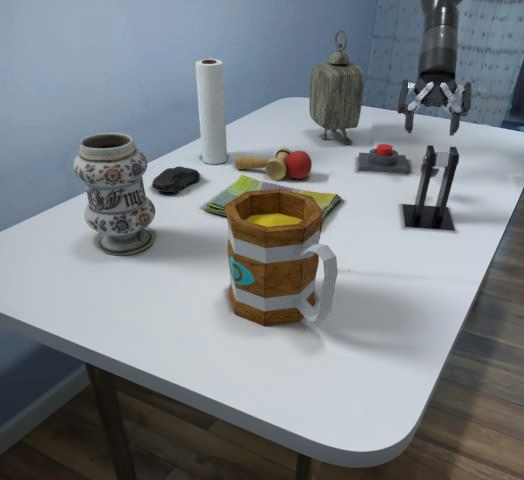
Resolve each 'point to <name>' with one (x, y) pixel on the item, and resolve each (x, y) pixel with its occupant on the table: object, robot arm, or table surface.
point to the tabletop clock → (336, 92)
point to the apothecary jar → (115, 192)
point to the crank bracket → (440, 213)
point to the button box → (382, 162)
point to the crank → (439, 162)
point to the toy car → (175, 179)
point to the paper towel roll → (211, 110)
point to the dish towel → (250, 184)
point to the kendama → (279, 164)
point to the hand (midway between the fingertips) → (431, 132)
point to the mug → (277, 257)
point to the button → (384, 150)
